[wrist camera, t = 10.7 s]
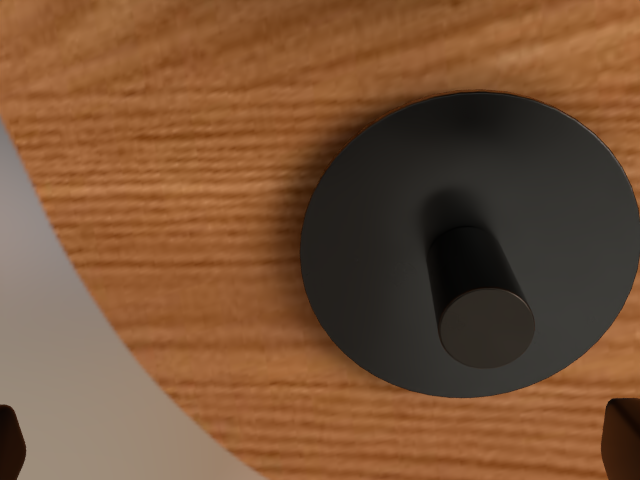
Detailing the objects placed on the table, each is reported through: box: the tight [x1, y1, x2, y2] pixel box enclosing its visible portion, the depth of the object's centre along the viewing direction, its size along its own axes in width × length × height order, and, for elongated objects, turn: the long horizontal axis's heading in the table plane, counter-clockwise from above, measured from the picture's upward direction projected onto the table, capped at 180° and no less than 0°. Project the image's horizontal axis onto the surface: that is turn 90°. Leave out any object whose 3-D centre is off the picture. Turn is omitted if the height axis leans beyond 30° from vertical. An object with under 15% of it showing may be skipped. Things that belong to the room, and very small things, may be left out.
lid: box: [300, 89, 640, 398], centre depth 17 cm, size 11×11×5 cm
